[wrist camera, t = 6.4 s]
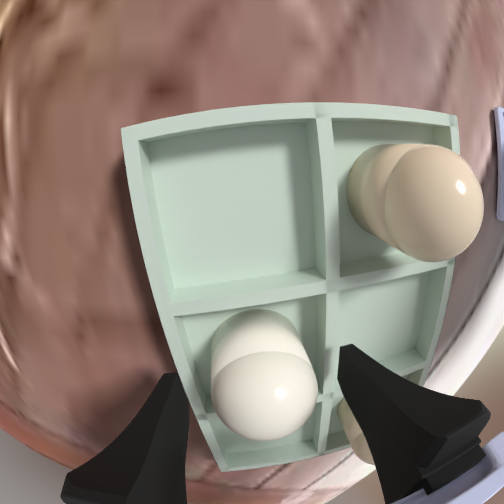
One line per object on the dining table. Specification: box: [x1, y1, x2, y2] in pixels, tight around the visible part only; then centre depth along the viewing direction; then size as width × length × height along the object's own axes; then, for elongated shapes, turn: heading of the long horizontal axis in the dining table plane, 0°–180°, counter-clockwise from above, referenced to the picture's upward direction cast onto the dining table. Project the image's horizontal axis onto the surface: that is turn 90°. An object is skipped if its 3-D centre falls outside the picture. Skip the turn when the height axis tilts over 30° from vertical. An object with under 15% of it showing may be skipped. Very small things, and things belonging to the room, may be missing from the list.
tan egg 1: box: [337, 398, 375, 465], centre depth 14 cm, size 4×4×5 cm
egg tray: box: [121, 103, 460, 472], centre depth 14 cm, size 15×22×2 cm
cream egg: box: [211, 309, 318, 441], centre depth 11 cm, size 4×4×5 cm
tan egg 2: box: [347, 144, 484, 262], centre depth 9 cm, size 4×4×5 cm
